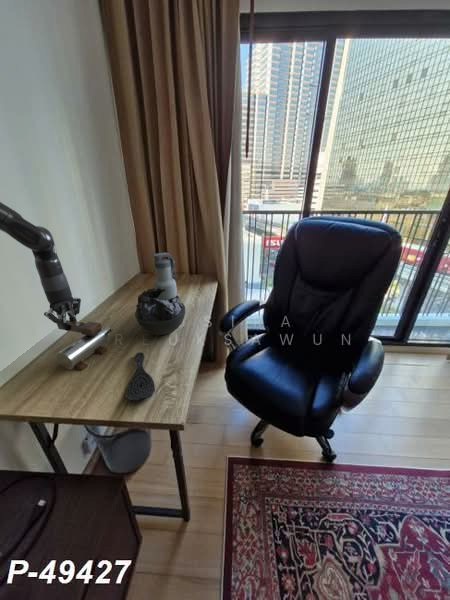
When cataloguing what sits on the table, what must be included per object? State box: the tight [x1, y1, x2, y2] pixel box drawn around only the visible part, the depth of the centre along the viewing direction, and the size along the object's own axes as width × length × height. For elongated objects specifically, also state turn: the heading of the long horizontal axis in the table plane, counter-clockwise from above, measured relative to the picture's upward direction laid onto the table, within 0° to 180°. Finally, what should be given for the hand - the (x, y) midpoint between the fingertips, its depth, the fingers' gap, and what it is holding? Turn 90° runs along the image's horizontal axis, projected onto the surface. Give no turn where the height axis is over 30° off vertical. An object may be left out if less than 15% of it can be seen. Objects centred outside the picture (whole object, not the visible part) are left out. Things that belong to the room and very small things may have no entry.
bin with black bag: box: [134, 287, 186, 336], centre depth 102 cm, size 20×20×19 cm
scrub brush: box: [55, 319, 103, 336], centre depth 93 cm, size 19×4×3 cm, turn 69°
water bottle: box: [153, 252, 178, 300], centre depth 117 cm, size 10×10×28 cm
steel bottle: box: [56, 326, 113, 371], centre depth 92 cm, size 20×8×8 cm, turn 159°
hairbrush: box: [126, 351, 156, 403], centre depth 81 cm, size 8×4×25 cm
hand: (71, 327), depth 95 cm, fingers closed on scrub brush, 2 cm apart
